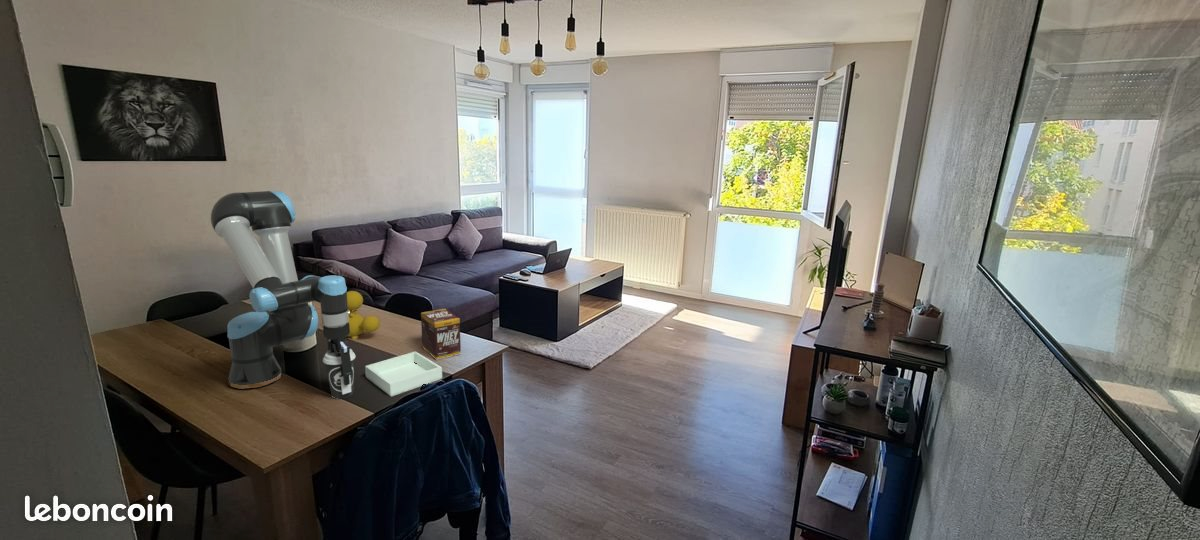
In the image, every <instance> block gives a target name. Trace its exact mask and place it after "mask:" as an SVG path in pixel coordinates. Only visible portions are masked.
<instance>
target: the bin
mask: <svg viewBox="0 0 1200 540" xmlns="http://www.w3.org/2000/svg"><path fill="white" fill-rule="evenodd" d="M414 362H415V363H417V364H415V363H414ZM364 367H365V368H364V369H365V378H366V379H367V380H368V381H370V382H371V383H373V384H374V385H375V386H376V387H378V388H379V390H382V391H383V392H384V393H386V394H387V395H388V396H390V397H394V396H396V395H401V394H403V393H405V392H406V393H407V392H408V391H412V390H414V389H417V388H420V387H423V386H424V385H423V384H426V385H428V383H429V384H431V383H434V382H436V381H439V380H442V379H443V367H442V366H440V365H439V364H437V363H436V362H434V361H432V360H430V359H429V358H427V357H425V356H424V355H422V354H421V353H418V352H417V351H412V352H408V353H406V354H405V353H404V354H402V355H398V356H394V357H391V358H388V359H385V360H381V361H378V362H375V363H371V364H367V365H365V366H364ZM422 385H423V386H422Z"/></svg>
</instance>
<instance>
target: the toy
mask: <svg viewBox="0 0 1200 540" xmlns="http://www.w3.org/2000/svg"><path fill="white" fill-rule="evenodd" d="M363 303H364V298H363V295H362V294H361V293H360V292H358V291H356V290H355V291H354V290H349V291H347V304H348V311H349V312H350V314H348V317H349V321H348V323H349V326H350V334H349V335H348V336H347V337H349V338H352V339H351V340H356V339H355V338H357V339H358V337H359V336H360V334H361V335H363V334H364V333H363V332H364V331H365V332H367V333H373V332H377V330H379V328H380V325H381V322H380V320H379V318H378V317H377V316H374V315H368V316H366V317H365V318H364V317H363V316H362V315H361V314H360V313H357V312H359V308H361V307H362V305H363ZM362 333H363V334H362Z"/></svg>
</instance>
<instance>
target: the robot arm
mask: <svg viewBox="0 0 1200 540" xmlns="http://www.w3.org/2000/svg"><path fill="white" fill-rule="evenodd" d="M295 220H296V209H295V207H294V204H293V201H292V200H291V198H290V197H289V196H288V195H287V194H286V193H284V192H282V191H278V190H276V191H275V190H274V191H273V190H272V191H271V190H266V191H250V192H249V191H245V192H240V191H239V192H231V193H228V194H225V195H224V196H222V197H220V198H219V199H218V200H217V201H216V202H215V204H214V205H213V207H212V209H211V213H210V223H211V227H212V228H213V230H214V232H215V233H216V235H217V236H219V237H220V238H223V239H224V241H225V243H226V245H227V246H228V248H229V251H230V252H231V253H232V255H233V257H234V259H235V261H236V262H237V264H238V265H239V267H240V269H241V270H242V272H243V274H244V276H245V277H246V279H247V281H248V282H249V284H250V286H251V288H252V289H251V290H250V291H249V295H248V296H249V302H250V304H251V308H252V309H253V310H254V311H249V312H246V313H242V314H239V315H237V316H235V317H233V318H232V319H230V320H229V322H228V323H227V335H226V336H227V338H228V343H229V350H230V357H231V366H230V370H229V375H228V380H229V381H228V380H227V381H228V383H229V382H230V383H233V384H238V385H247V384H255V383H260V382H264V381H268V380H271V379H273V378H275V377H277V376H278V375H279V374H280V373H282V374H283V372H282V368H281V366H280V364H279V362H278V361H277V359H276V357H275V355H274V351H273V350H274V349H273V348H275V347H279V346H281V345H285V344H289V343H293V342H297V341H303V340H304V339H307V338H310V337H313V336H314V335H315V334H316V332H317V330H318V328H319V315H318V311H316V310H317V309H316V308H315V306H313V305H312V304H309V303H314V302H316V303H318V304H319V303H320V312H321V323H322V324H321V325H323V326H322V330H323V331H322V332H323V336H324V338H326V341H327V352H328V351H330V350H331V352H335V355H336V356H337V357H340V356H341V362H342V364H340V371H341V375H339V377H340V379H341V389H342V394H346V393H349V392H351V381H350V375H352V374H353V372H352V366H351V359H350V349H351V347H350V345H348V343H347V340H345V338H346V337H349V336H348V335H349V334H350V326H349V323H348V321H349V317H348V314H350V312H349V311H350V310H348V304H347V292H348V291H347V289H348V287H347V285H346V279H345V277H343V276H341V275H335V274H334V275H325V276H322V277H321V276H317V275H312V274H311V275H306V276H304V277H303V278H302V279H300V280H299V279H298V274H297V271H296V270H297V269H296V266H295V261H294V257H293V251H292V247H291V241H290V238H289V234H288V233H289V231H290V230H291V229H292V225H291V224H292V223H294V222H295ZM250 227H251V229H250ZM253 233H254V234H256V235H257V236H258V238H259V241H260V242H258V241H257V239H256V238H255V235H254V234H253ZM259 243H260V244H259ZM268 312H270V313H268ZM338 352H340V353H338Z"/></svg>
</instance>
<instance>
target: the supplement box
mask: <svg viewBox="0 0 1200 540" xmlns="http://www.w3.org/2000/svg"><path fill="white" fill-rule="evenodd" d="M420 320H421V322H420V323H421V325H420V326H421V345H422V346H423V347H424V348H425V349H426V350H427V351H428V352H429V353H431V354H432V355H433V356H434V357H435V358H436V359H437V358H442V357H447V356H451V355H455V354H459V353H461V354H462V352H461V351H462V349H461V347H462V346H461V322H460V321H461V318H459V316H456V315H455V314H454V313H452V312H451V311H449V310H448V309H446V308H441V309H435V310H429V311H424V312H420ZM426 350H425V351H426ZM427 351H426V352H427ZM428 352H427V353H428ZM429 353H428V354H429Z"/></svg>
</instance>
